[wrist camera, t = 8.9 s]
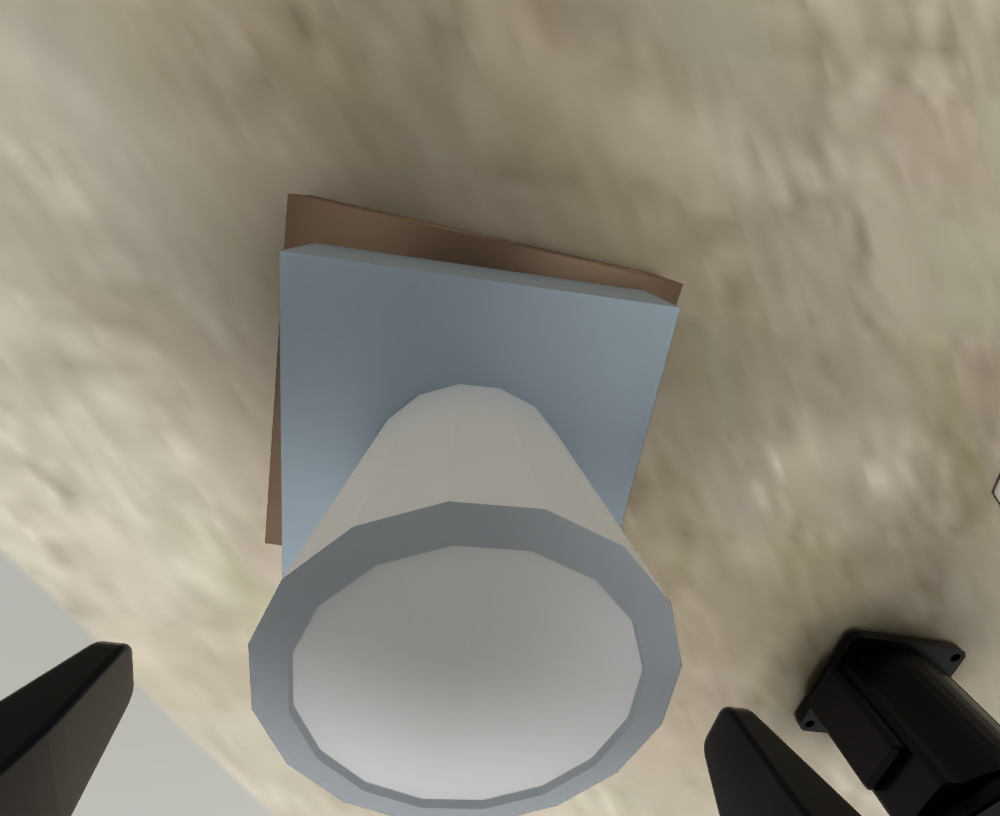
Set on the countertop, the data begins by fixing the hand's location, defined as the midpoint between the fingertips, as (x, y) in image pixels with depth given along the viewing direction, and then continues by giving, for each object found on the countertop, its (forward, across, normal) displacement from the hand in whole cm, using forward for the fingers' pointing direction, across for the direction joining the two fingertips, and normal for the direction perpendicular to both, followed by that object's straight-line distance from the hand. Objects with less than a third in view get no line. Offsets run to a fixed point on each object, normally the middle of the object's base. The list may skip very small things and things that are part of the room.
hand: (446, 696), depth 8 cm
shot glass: (+7, 0, 0) cm, 7 cm away
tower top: (+10, 0, 0) cm, 10 cm away
